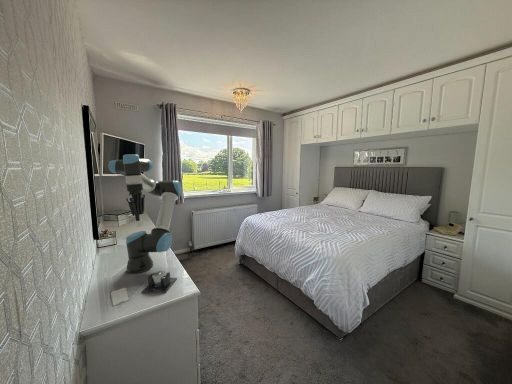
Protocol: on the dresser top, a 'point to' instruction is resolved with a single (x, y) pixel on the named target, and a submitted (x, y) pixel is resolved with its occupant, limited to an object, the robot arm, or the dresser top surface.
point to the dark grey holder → (166, 284)
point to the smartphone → (119, 296)
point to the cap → (158, 278)
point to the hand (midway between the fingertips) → (139, 226)
